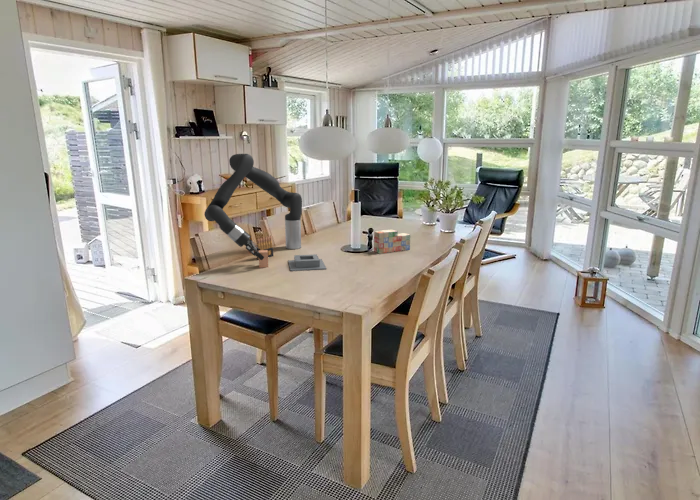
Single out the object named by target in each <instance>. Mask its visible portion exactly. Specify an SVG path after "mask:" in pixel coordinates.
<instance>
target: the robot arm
mask: <svg viewBox="0 0 700 500" xmlns="http://www.w3.org/2000/svg"><path fill="white" fill-rule="evenodd" d="M229 165H230V168H231V169H232V170H233V171H234V172H233V173H232V174H231V175H230V177H228V178H227V179H226V180H225V181H224V182H223V183H222V184H221V185H220V186H219V188H217V189H218V190H217V191H216V192H215V194H214V196H213V198H212V200H211V202H210V203H209V204H208V205H207V207H206V209H205V211H204V218H205V219H206V221H208V222H215V223H216V224H217V225H218V226H219V229H220V230H221V231H222V232H223V233H224V234H225V235H227V236H228V238H229V239H231V240H232V241H233V243H235V244H236V245H238V246H239V248H242V247H243V246H245V249H246V250H247V251H248V252H249V253H250V254H251V255H252V256H254V257H256V258H257V257H258V258H259V259H260V260H262V259H263V258H264V256H263V255H261V254H260V253H259V250H260V249H258V248H259V247H258V245H257V243H255V242H254V241H253V240H252V239H251V235H250V234H249V233H248V232H247V231H245V229H243V228H242V227H241V226H240V225H238V224H237V223H235V221H234V220H232V219H231V218H230V217H229V215H228V214H227V213H226V212H225V211H224V208H225V207H226V206H227V204H228V203H229V201H230V200H231V198H232V196H233V194H234V192H236V189H238V187H239V186H240V184H241V182H242V181H243V180H244V179H245V178H246V179H248V180H249V181H250V182H251V183H253V184H255V185H256V186H258V188H260V189H262V191H264V192H266V193H267V194H268V195H270V196H272V197H273V198H275V200H277V201H278V202H279V203H280V204H281V205H282V206H283V207H285V208H288V209H289V213H286V214H285V215H284V229H285V233H284V235H285V249H288V250H298V249H301V248H302V235H301V234H302V228H301V227H302V226H301V225H302V224H301V223H302V221H301V219H302V218H301V217H302V213H303V198H302V195H301V194H300V193H298V192H294V191H293V192H291V191H287V190H286V189H284V188H282V187H281V185H280V183H279V180H278V179H276V178H275V177H274V176H273V175H272V174H271V173H269V172H267V171H265V170H262V169H260V168H257V167H255V166H254V158H253V156H252V155H251V154H248V153H235V154H233V155H231V156H230V157H229Z"/></svg>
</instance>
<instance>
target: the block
mask: <svg viewBox="0 0 700 500" xmlns="http://www.w3.org/2000/svg"><path fill="white" fill-rule="evenodd" d="M259 253H260V254H261V255H263V256H264V258H263V259H262V260H260V259H259V260H258V266H259V269H260V268H261V269H262V268H269V258H268V250H259Z"/></svg>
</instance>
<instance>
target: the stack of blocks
mask: <svg viewBox="0 0 700 500" xmlns="http://www.w3.org/2000/svg"><path fill="white" fill-rule="evenodd" d="M373 235H374V237H373V251H374V252H375V253H378V254H386V253H387V252H388V253H394V251H395V252H403V251H410V249H411V234H409V233H405V232H402V233H398V230H394V229H383V230H382V229H381V230H374V233H373ZM402 250H403V251H402Z"/></svg>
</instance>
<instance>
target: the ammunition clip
mask: <svg viewBox="0 0 700 500" xmlns="http://www.w3.org/2000/svg"><path fill="white" fill-rule="evenodd" d="M256 245H258V247H259V248H258V249H260V250H268V257H269V258H272V257H274V247H273V239H272V235H267V236H266V235H265V236H262V237H260V238H259V237H258V238H257V243H256ZM256 259H257V260H258V261H259V258H258V257H257V256H256Z"/></svg>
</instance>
